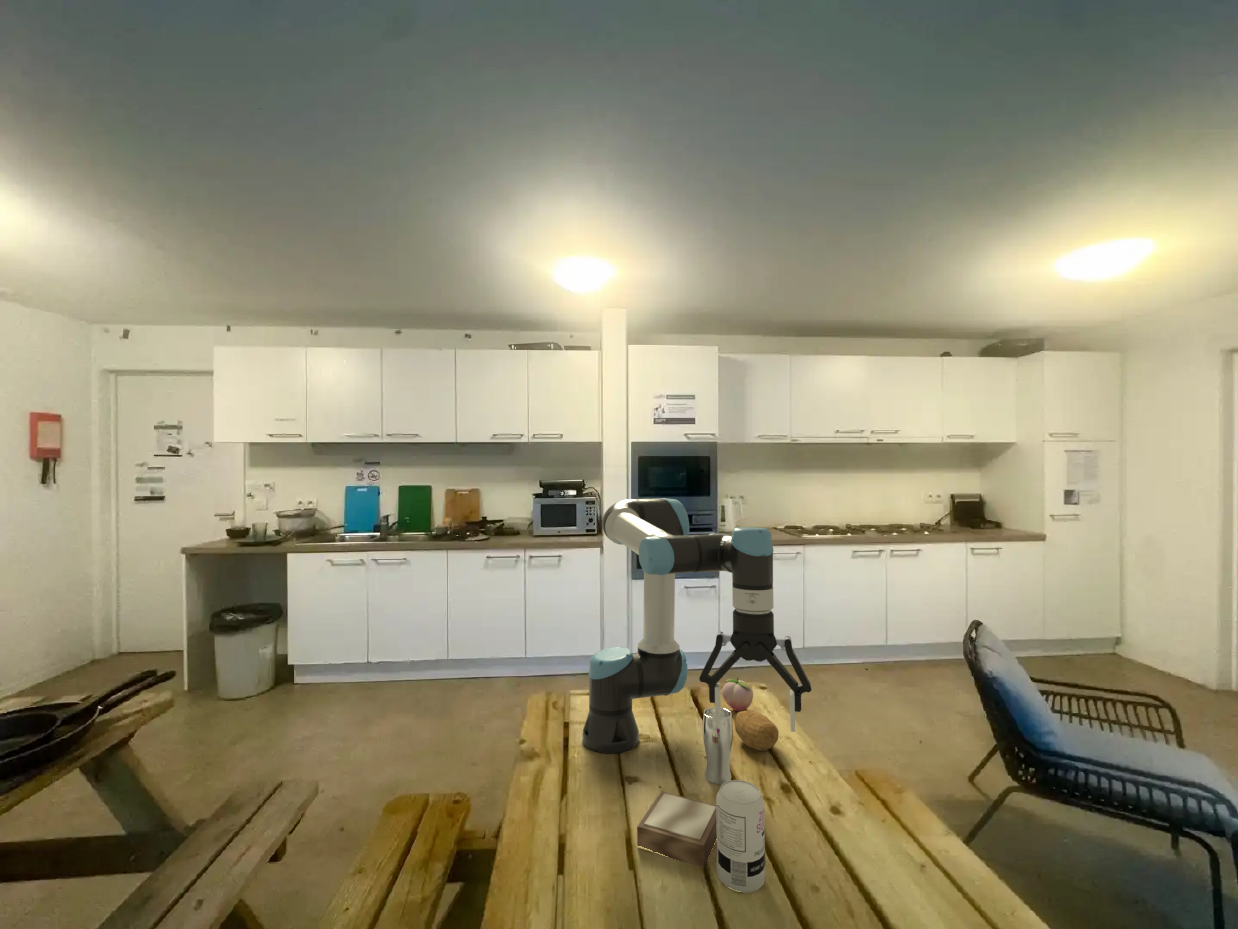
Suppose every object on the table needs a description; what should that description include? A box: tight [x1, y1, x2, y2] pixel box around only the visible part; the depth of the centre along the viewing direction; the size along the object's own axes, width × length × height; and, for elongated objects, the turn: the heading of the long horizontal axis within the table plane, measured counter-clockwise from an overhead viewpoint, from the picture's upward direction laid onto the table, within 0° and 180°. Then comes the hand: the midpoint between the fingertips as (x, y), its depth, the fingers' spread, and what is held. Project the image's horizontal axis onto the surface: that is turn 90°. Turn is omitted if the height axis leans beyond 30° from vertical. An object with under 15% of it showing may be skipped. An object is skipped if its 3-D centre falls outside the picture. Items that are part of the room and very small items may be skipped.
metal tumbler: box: [702, 706, 734, 785], centre depth 127 cm, size 7×7×15 cm
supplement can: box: [715, 779, 766, 894], centre depth 95 cm, size 8×8×15 cm
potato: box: [734, 709, 780, 752], centre depth 142 cm, size 10×14×8 cm
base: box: [636, 790, 717, 869], centre depth 105 cm, size 13×13×4 cm
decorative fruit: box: [721, 677, 754, 712], centre depth 164 cm, size 9×8×10 cm
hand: (754, 724), depth 101 cm, fingers open, 13 cm apart
